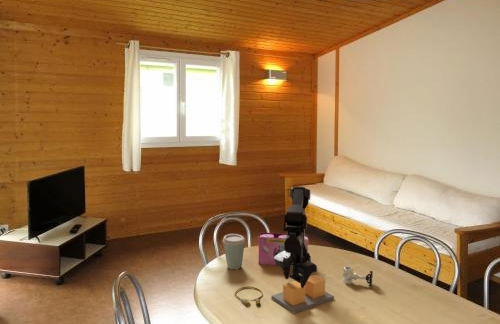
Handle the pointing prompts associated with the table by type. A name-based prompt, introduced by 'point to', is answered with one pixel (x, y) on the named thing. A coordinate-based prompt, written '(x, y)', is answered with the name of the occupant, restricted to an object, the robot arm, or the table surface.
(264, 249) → the gum box
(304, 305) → the board
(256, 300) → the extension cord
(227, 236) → the disposable coffee cup
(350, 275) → the valve
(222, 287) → the table surface
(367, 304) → the table surface
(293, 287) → the matte orange cube
